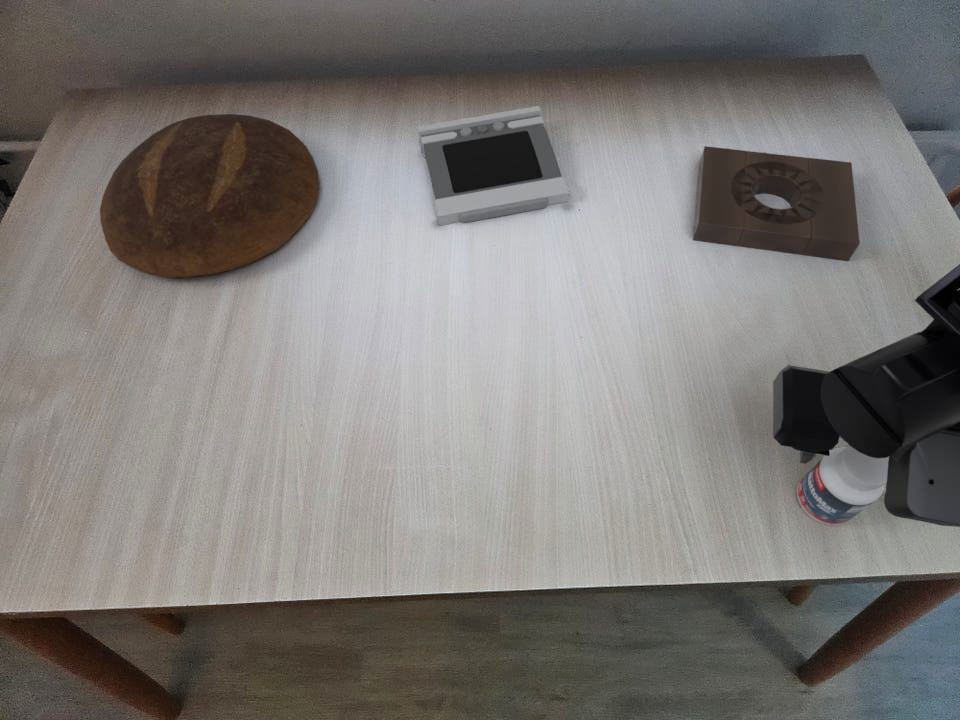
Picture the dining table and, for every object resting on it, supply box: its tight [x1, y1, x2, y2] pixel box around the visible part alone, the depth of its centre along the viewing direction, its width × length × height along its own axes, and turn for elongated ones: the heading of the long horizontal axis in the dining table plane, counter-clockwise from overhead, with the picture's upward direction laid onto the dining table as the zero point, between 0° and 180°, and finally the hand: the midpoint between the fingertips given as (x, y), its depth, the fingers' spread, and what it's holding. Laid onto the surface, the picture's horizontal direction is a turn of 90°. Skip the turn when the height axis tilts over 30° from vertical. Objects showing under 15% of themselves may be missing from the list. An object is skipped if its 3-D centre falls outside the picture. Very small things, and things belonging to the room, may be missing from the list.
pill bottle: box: [796, 444, 889, 526], centre depth 57 cm, size 5×5×9 cm
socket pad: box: [692, 145, 860, 262], centre depth 80 cm, size 18×14×3 cm
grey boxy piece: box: [417, 105, 571, 226], centre depth 86 cm, size 17×5×16 cm
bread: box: [99, 113, 321, 278], centre depth 83 cm, size 28×27×9 cm
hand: (858, 469), depth 55 cm, fingers open, 9 cm apart
